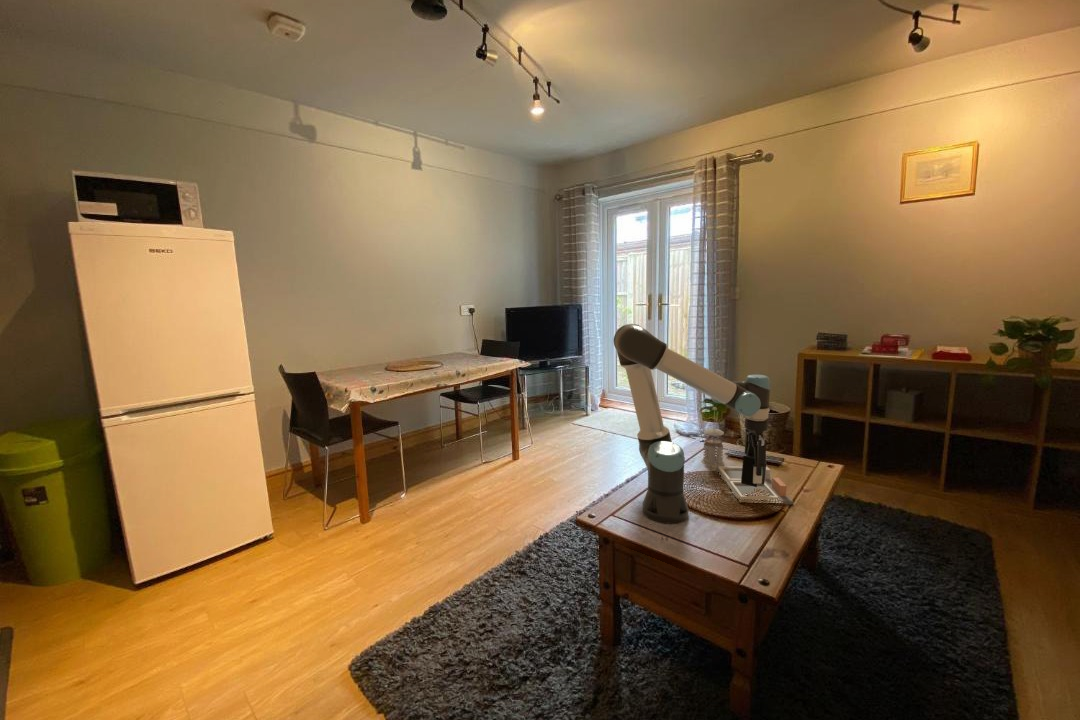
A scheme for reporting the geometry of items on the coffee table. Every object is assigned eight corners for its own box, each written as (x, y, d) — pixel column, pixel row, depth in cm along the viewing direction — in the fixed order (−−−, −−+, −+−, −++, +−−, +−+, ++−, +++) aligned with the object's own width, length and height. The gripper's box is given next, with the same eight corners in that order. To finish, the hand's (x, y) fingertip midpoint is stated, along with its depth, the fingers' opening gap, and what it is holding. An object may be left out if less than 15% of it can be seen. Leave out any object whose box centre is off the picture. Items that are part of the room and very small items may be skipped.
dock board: (739, 503, 154) (739, 489, 153) (716, 470, 181) (716, 458, 180) (793, 504, 152) (794, 490, 151) (761, 471, 179) (762, 459, 178)
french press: (720, 458, 194) (723, 403, 190) (729, 468, 183) (731, 411, 179) (698, 458, 195) (699, 404, 191) (705, 468, 184) (707, 411, 180)
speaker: (754, 488, 154) (756, 459, 153) (740, 483, 159) (742, 455, 158) (768, 485, 157) (770, 457, 156) (754, 480, 162) (756, 453, 161)
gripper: (779, 426, 145) (775, 491, 149) (757, 410, 164) (754, 468, 168) (755, 426, 146) (752, 490, 150) (736, 410, 165) (734, 468, 168)
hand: (753, 478), depth 159 cm, fingers closed on speaker, 6 cm apart
